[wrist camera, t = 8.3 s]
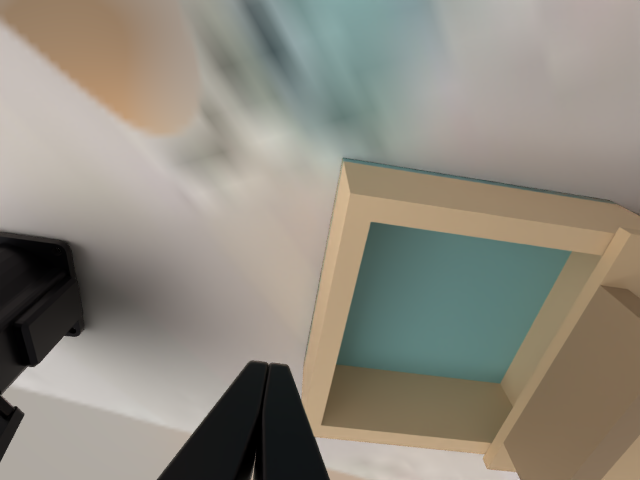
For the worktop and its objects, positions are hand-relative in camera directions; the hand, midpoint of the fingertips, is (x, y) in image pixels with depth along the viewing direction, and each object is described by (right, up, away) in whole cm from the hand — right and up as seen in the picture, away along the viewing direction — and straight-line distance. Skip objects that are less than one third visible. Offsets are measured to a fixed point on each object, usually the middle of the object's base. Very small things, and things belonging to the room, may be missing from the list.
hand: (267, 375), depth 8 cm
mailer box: (+8, 0, +14) cm, 16 cm away
